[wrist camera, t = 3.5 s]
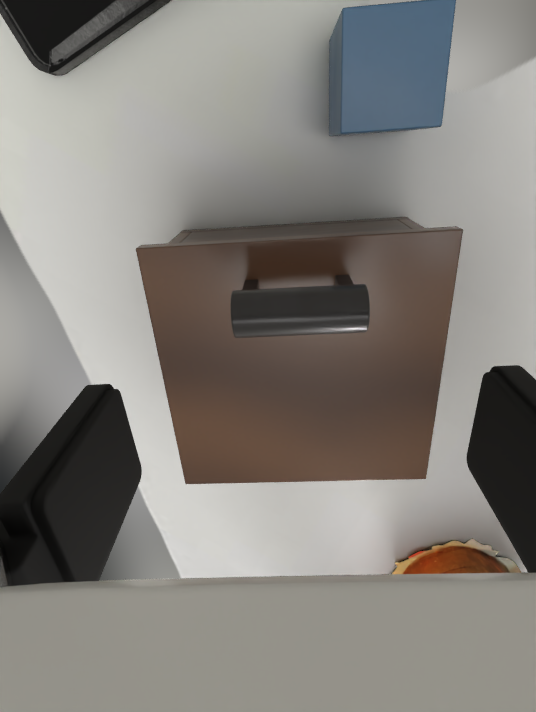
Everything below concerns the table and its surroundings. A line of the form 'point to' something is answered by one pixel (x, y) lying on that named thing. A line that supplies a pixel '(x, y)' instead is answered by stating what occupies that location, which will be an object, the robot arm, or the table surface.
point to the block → (389, 67)
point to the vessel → (457, 560)
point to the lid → (303, 352)
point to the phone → (71, 27)
